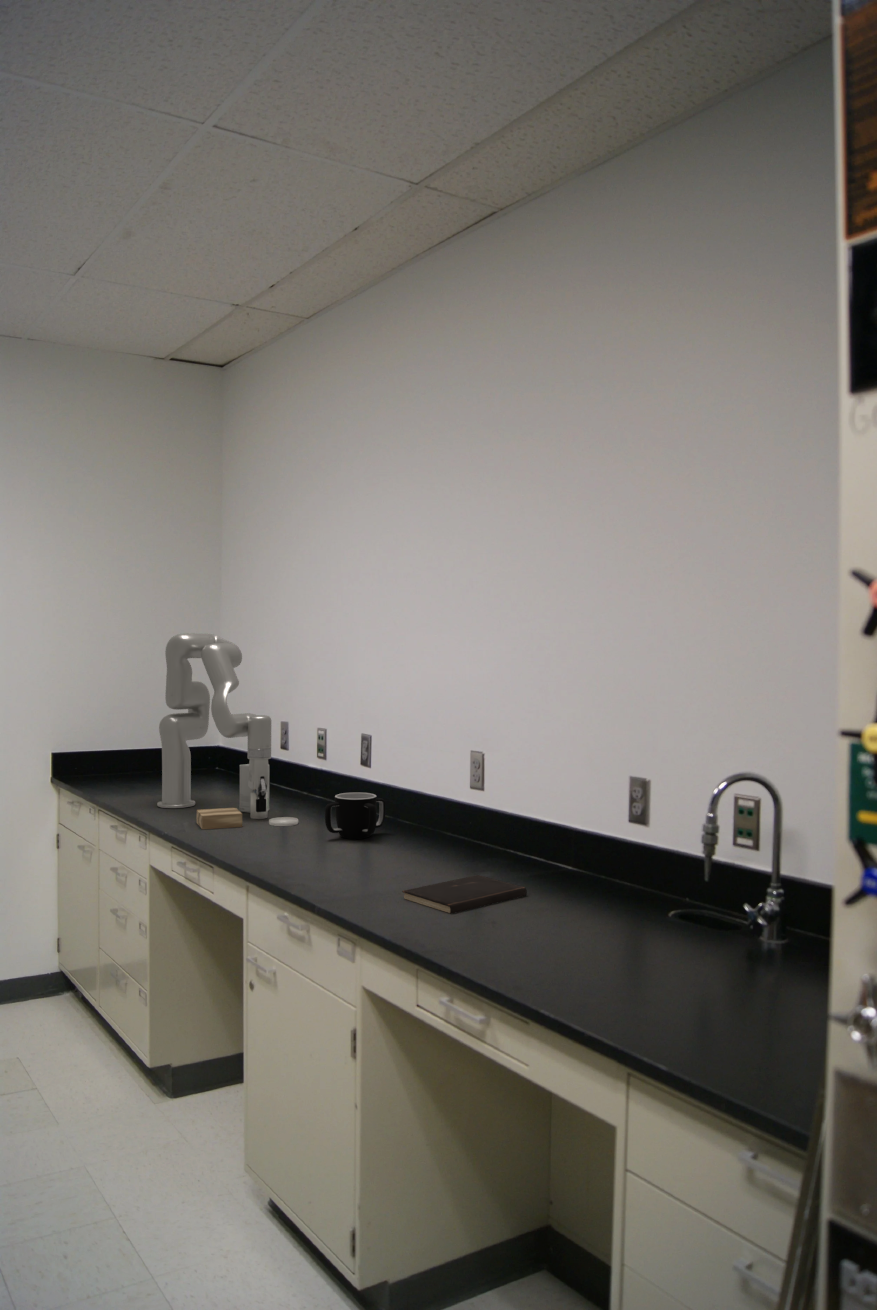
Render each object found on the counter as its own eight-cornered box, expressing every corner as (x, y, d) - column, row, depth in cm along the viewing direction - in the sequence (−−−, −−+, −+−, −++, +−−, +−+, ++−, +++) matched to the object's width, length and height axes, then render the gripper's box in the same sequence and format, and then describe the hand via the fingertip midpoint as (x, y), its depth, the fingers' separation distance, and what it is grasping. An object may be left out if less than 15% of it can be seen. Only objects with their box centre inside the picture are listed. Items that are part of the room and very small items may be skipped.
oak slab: (196, 822, 303) (196, 809, 303) (235, 820, 307) (235, 807, 307) (202, 829, 292) (202, 816, 292) (242, 826, 296) (242, 813, 296)
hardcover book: (402, 901, 215) (402, 890, 214) (477, 884, 230) (477, 874, 230) (450, 916, 202) (450, 905, 202) (527, 898, 218) (527, 887, 218)
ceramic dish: (266, 822, 304) (266, 818, 304) (294, 820, 308) (294, 816, 308) (272, 827, 296) (272, 823, 296) (301, 825, 299) (301, 821, 299)
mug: (390, 833, 288) (391, 792, 288) (372, 843, 273) (373, 801, 272) (339, 829, 292) (339, 790, 292) (318, 840, 277) (318, 798, 277)
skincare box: (251, 813, 319) (251, 766, 319) (237, 811, 323) (238, 764, 323) (270, 810, 326) (270, 763, 326) (256, 808, 330) (257, 762, 330)
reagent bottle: (249, 816, 314) (249, 788, 314) (265, 815, 316) (265, 787, 316) (252, 819, 309) (252, 790, 309) (269, 818, 311) (269, 789, 311)
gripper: (242, 751, 318) (242, 806, 319) (253, 757, 303) (252, 815, 303) (265, 750, 321) (265, 805, 321) (276, 756, 305) (276, 813, 306)
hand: (259, 809), depth 312 cm, fingers closed on reagent bottle, 5 cm apart
